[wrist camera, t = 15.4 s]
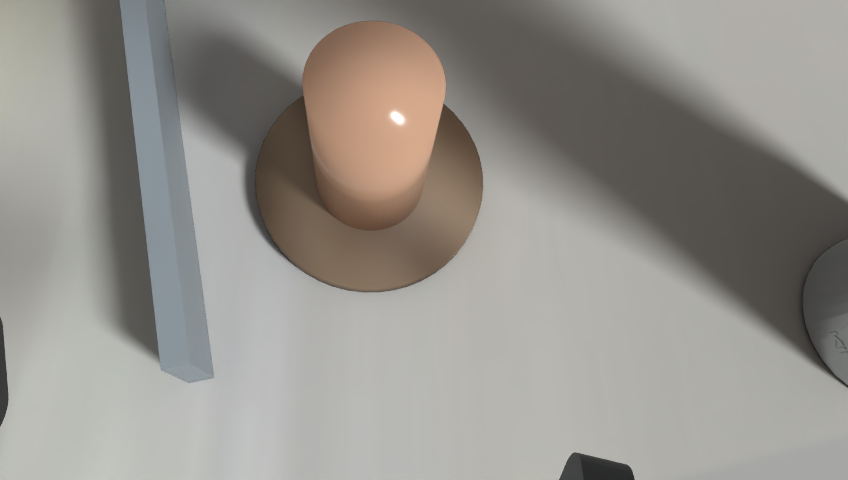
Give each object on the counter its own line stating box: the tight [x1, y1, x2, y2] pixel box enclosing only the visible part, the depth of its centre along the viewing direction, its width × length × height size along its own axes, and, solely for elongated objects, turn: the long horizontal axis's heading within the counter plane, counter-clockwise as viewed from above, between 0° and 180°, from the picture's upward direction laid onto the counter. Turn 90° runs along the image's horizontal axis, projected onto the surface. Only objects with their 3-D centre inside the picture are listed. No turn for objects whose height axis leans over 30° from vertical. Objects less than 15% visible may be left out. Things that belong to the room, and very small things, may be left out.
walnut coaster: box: [255, 96, 483, 292], centre depth 37 cm, size 12×12×1 cm
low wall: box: [119, 0, 214, 383], centre depth 35 cm, size 24×1×5 cm, turn 13°
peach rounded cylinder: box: [302, 21, 446, 231], centre depth 32 cm, size 6×6×10 cm
